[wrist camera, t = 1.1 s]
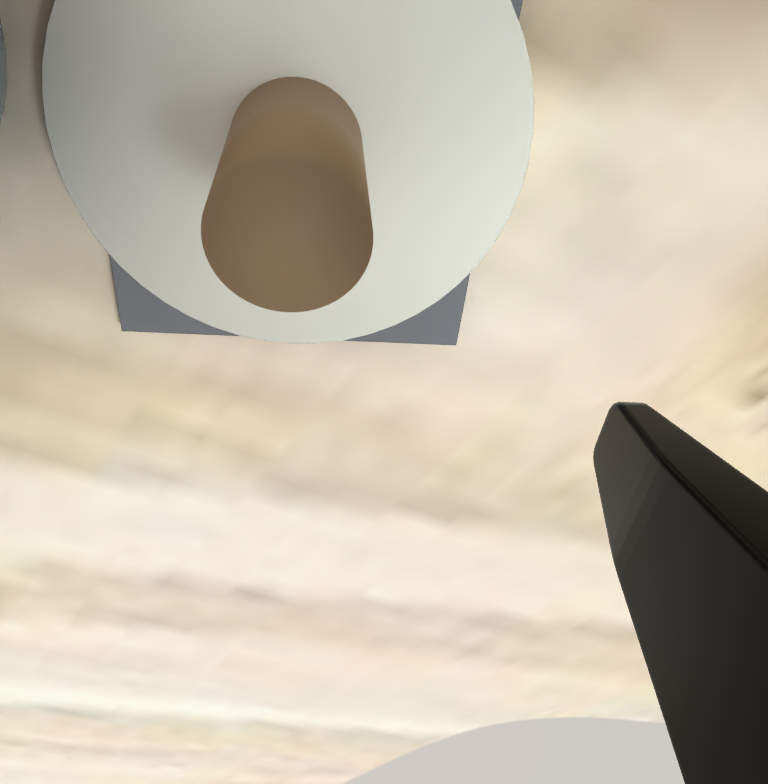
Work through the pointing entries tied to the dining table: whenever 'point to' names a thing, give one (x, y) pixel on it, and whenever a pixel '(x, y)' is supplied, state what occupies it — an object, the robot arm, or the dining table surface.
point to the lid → (291, 151)
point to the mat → (157, 316)
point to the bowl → (2, 72)
